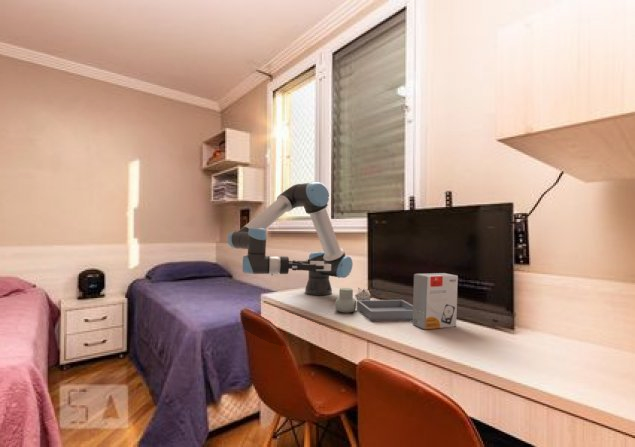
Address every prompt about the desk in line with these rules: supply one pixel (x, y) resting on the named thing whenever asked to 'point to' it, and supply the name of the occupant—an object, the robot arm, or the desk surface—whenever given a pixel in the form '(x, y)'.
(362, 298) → the game die
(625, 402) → the desk surface
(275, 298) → the desk surface
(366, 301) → the tray
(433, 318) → the hard drive box
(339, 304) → the air freshener
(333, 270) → the robot arm
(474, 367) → the desk surface
